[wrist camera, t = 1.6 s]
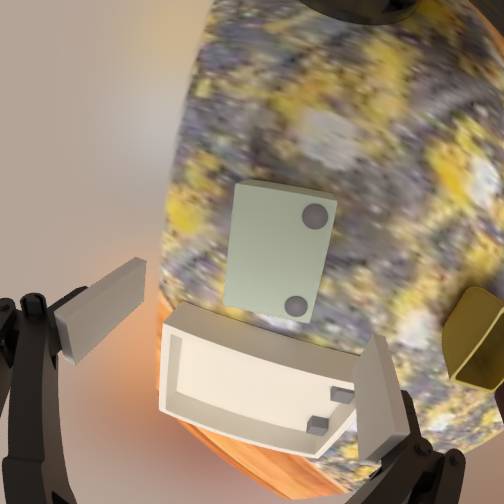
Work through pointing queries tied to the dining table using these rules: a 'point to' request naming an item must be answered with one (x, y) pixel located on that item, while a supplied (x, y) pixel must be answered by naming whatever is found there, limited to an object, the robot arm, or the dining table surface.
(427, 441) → the robot arm
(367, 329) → the dining table surface
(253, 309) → the dotted green block
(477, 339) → the flower pot
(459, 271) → the dining table surface
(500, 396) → the coffee cup
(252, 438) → the tray
